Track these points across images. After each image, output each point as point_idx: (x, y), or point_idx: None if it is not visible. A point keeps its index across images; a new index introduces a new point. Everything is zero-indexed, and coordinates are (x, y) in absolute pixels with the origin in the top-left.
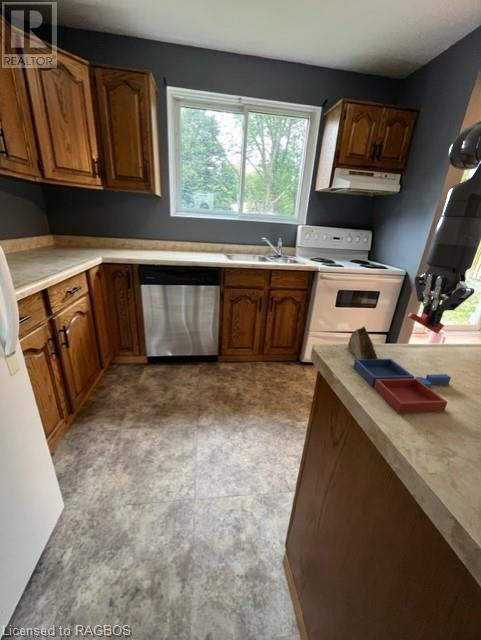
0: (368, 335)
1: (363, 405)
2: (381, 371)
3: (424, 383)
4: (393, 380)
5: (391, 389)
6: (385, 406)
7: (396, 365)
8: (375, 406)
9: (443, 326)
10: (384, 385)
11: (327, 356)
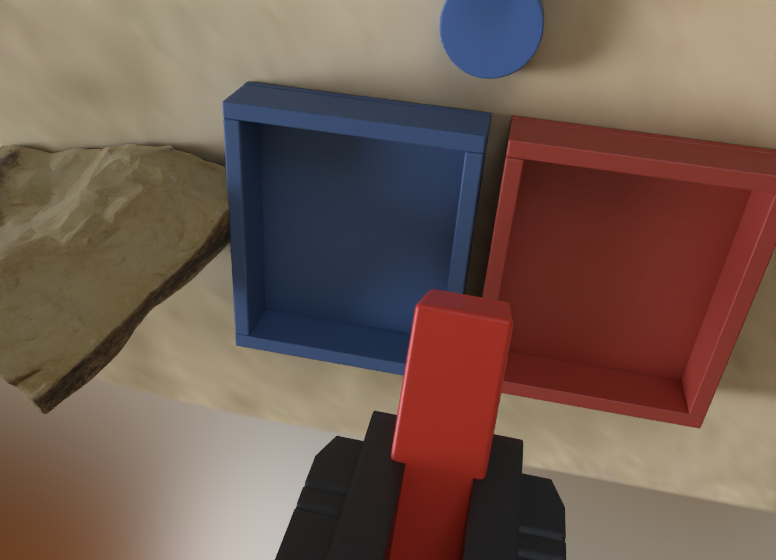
0: (96, 348)
1: (585, 474)
2: (323, 203)
3: (527, 55)
4: None
5: (517, 291)
6: None
7: (315, 129)
8: (608, 437)
9: (511, 319)
10: (534, 389)
11: (135, 367)
